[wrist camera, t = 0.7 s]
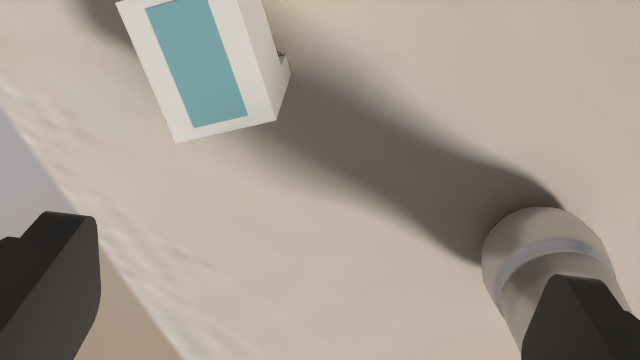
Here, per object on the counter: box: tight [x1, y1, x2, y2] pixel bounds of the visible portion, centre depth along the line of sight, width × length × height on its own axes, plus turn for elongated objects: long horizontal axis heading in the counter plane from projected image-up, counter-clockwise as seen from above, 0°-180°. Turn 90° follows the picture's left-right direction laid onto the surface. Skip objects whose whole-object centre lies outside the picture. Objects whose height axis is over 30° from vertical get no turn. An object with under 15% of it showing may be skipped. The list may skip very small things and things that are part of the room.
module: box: [115, 0, 291, 143], centre depth 24 cm, size 4×6×6 cm
